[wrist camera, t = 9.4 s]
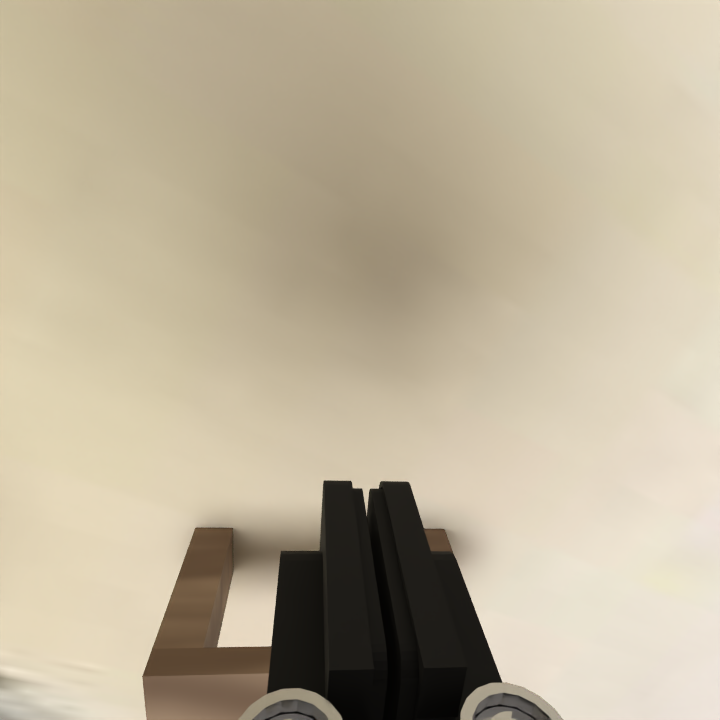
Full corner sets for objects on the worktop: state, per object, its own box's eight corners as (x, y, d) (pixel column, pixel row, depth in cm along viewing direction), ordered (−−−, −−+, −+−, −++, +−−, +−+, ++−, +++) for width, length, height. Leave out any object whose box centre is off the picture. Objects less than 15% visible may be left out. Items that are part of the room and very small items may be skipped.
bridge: (195, 528, 27) (142, 676, 19) (444, 529, 28) (496, 667, 20) (197, 571, 28) (147, 731, 20) (437, 570, 29) (484, 719, 21)
